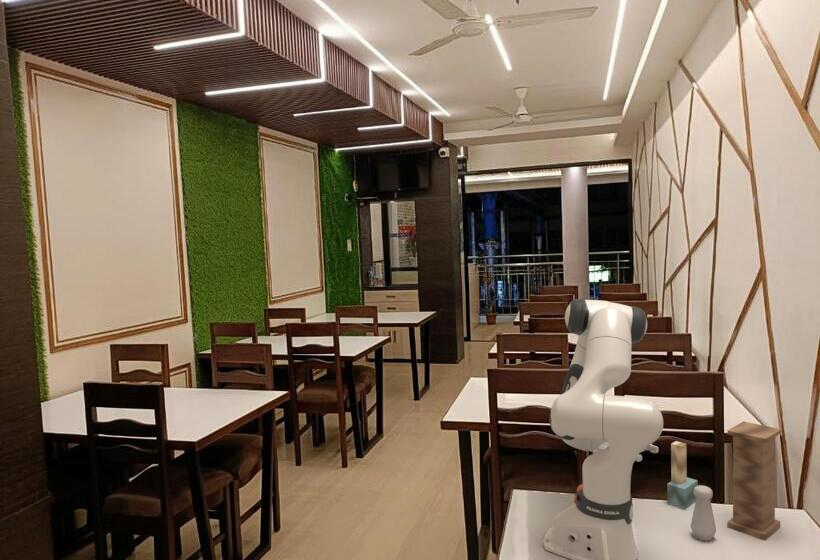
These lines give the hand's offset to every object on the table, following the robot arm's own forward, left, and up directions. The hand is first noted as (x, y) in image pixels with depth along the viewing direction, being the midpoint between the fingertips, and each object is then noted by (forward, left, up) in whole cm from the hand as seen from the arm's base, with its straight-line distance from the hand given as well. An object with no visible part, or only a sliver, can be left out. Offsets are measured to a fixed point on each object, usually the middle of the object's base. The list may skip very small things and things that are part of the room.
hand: (649, 454), depth 173 cm
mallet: (+7, -2, -3) cm, 8 cm away
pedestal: (+27, -9, -12) cm, 31 cm away
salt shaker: (+16, -20, -12) cm, 29 cm away
